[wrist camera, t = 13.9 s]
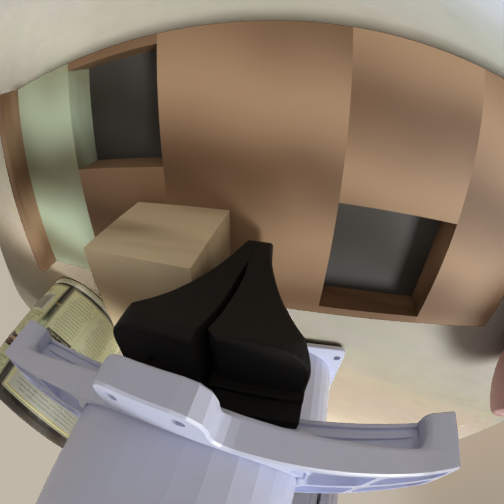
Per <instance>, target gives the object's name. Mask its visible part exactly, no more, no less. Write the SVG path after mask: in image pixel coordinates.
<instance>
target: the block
mask: <svg viewBox="0 0 504 504" xmlns="http://www.w3.org/2000/svg"><path fill="white" fill-rule="evenodd" d="M83 249H84V252H85V255H86V258H87V261H88V263H89V266H90V269H91V272H92V275H93V277H94V280H95V283H96V285H97V288H98V290H99V293H100V295H101V298H102V300H103V302H104V305H105V307H106V309H107V312H108V314H109V316H110V319H111V321H112V323H113V325H114V326H115V325H116V323H117V322H118V320H119V319H120V317H121V316H122V315H123V313H124V312H125V310H126V309H127V308H128V306H129V305H130V304H131V303H132V302H136V301H140V300H144V299H148V298H152V297H155V296H158V295H161V294H164V293H167V292H170V291H172V290H175V289H177V288H179V287H181V286H184V285H186V284H188V283H190V282H192V281H194V280H196V279H198V278H199V277H201V276H203V275H205V274H206V273H208V272H209V271H211V270H212V269H214V268H215V267H216V266H218V265H219V264H221V263H222V262H223V261H224V260H226V259H227V258H228V257H229V256H231V250H230V210H222V209H212V208H203V207H192V206H182V205H171V204H159V203H146V202H138V203H137V204H135V205H134V206H133V207H131V208H130V209H129V210H128V211H126V212H125V213H124V214H123V215H121V216H120V217H119V218H118V219H116V220H115V221H114V222H113V223H112V224H110V225H109V226H108V227H107V228H106V229H104V230H103V231H102V232H101V233H100V234H99V235H97V236H96V237H95V238H94V239H93V240H92V241H91V242H89V243H88V244H87V245H86V246H85V247H84V248H83Z"/></svg>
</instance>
